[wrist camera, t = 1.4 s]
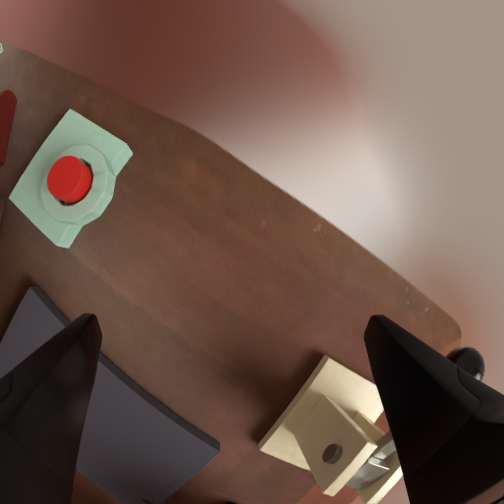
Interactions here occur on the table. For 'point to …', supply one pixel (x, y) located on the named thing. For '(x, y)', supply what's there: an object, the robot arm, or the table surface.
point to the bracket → (333, 431)
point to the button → (69, 179)
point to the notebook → (115, 419)
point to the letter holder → (1, 207)
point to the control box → (88, 152)
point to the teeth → (6, 120)
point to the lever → (377, 461)
